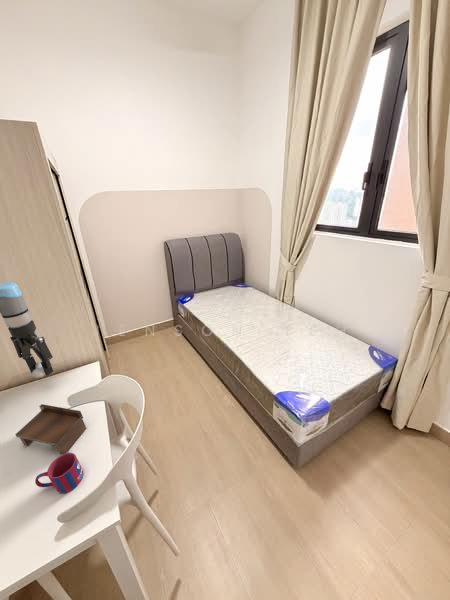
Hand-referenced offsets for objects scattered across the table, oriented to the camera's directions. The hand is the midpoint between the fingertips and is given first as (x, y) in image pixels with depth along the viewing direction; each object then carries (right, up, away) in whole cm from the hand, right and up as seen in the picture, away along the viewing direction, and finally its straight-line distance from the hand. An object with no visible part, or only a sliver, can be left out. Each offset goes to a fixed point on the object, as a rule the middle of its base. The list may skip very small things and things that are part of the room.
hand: (42, 372), depth 97 cm
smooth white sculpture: (0, -1, 0) cm, 1 cm away
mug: (+30, -21, -31) cm, 48 cm away
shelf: (+19, -16, -19) cm, 31 cm away
